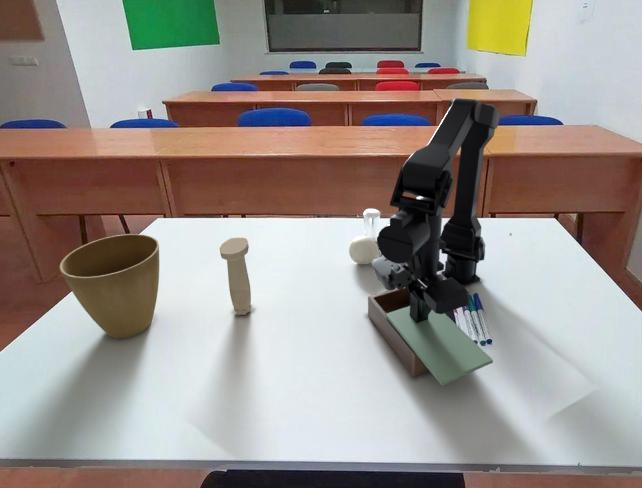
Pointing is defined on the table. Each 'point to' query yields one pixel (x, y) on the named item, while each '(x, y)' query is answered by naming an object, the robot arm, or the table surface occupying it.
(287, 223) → the table surface
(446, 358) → the sliding door
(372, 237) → the milkshake
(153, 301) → the plant pot
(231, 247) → the handle
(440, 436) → the table surface
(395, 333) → the brown wooden box
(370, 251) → the cream round ball
